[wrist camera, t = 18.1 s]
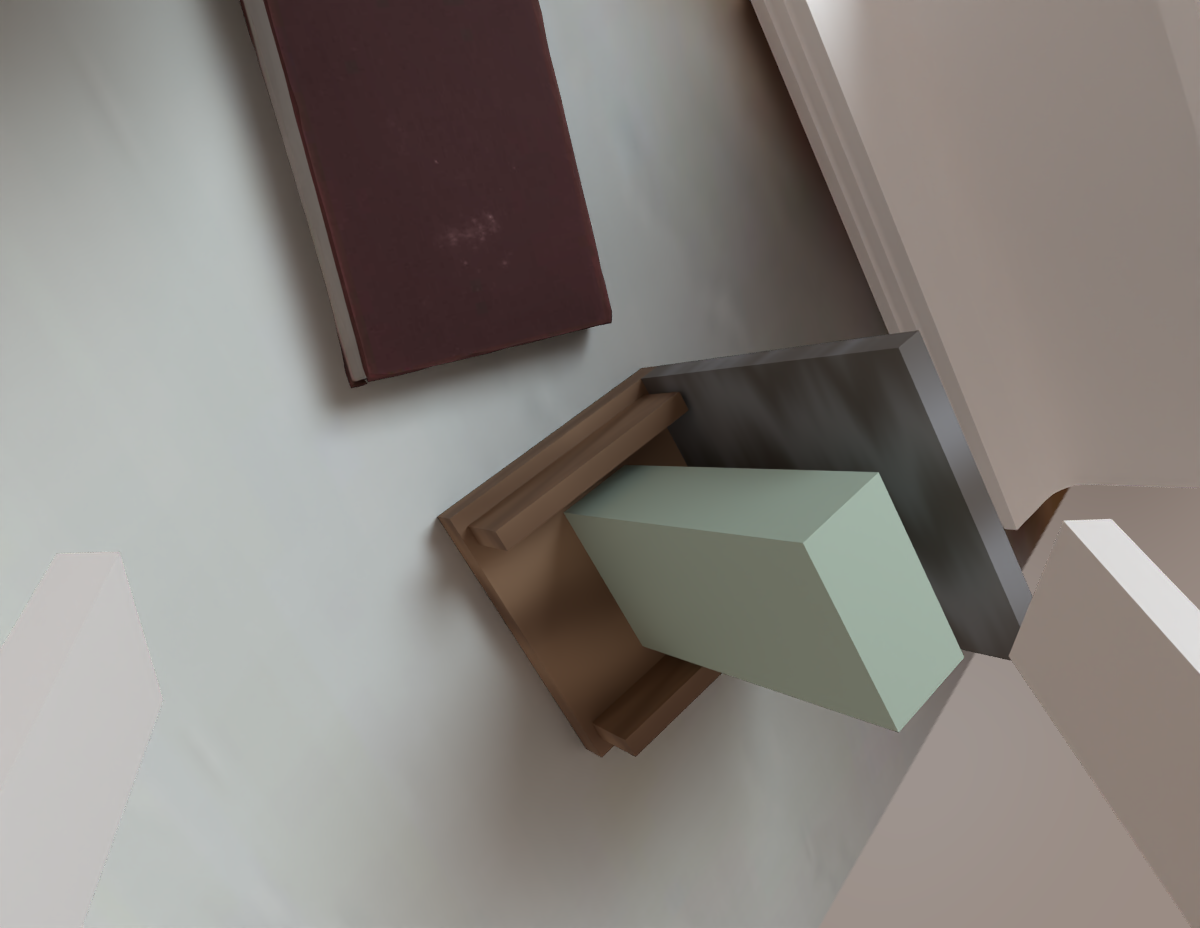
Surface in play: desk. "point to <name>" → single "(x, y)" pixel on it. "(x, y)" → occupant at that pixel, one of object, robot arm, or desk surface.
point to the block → (1023, 217)
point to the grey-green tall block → (774, 582)
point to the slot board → (730, 440)
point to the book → (431, 175)
